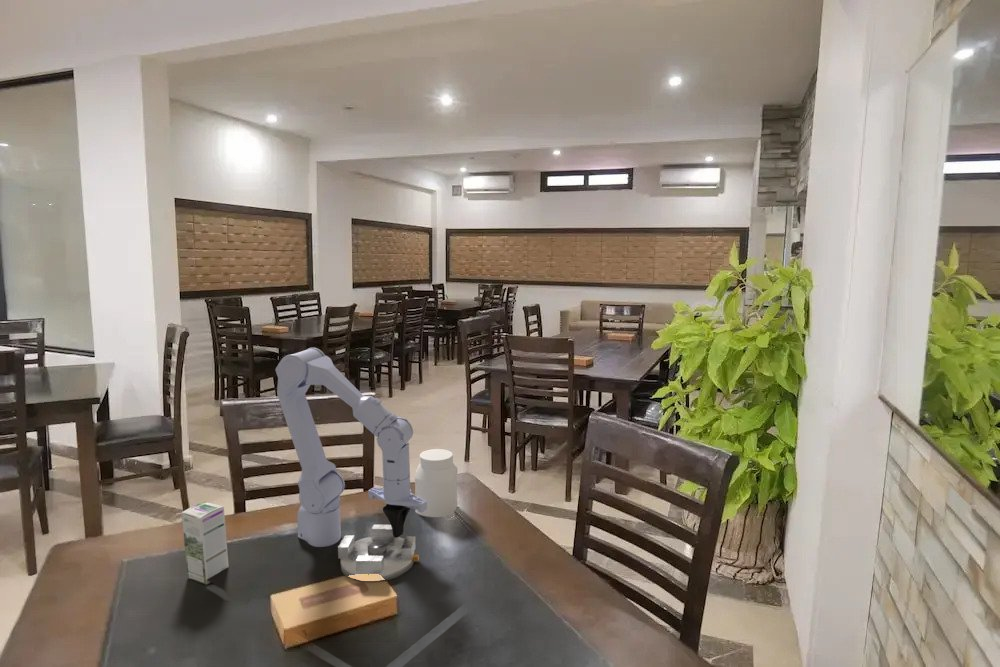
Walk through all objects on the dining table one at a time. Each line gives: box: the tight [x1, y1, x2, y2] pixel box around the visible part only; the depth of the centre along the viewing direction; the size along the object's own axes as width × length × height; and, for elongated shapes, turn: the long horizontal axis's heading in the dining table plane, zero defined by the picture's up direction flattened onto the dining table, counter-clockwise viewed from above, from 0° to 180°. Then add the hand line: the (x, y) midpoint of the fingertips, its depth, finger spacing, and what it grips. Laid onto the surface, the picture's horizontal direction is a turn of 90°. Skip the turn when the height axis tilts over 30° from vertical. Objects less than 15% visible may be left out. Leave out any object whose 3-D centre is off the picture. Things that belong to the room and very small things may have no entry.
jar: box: [414, 448, 458, 519], centre depth 149 cm, size 12×10×15 cm
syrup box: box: [181, 501, 230, 585], centre depth 119 cm, size 6×6×14 cm
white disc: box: [337, 524, 420, 581], centre depth 123 cm, size 16×15×4 cm
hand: (398, 535), depth 129 cm, fingers closed
